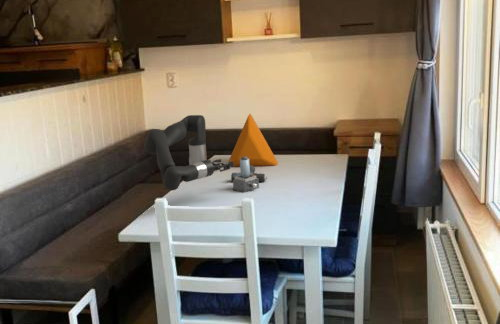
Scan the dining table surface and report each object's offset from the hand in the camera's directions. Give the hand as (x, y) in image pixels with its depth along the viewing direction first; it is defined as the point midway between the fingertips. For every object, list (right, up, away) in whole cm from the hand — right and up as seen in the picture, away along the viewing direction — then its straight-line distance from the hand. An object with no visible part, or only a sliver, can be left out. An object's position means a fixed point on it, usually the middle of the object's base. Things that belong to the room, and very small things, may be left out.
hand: (226, 162), depth 264 cm
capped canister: (+9, -8, +10) cm, 16 cm away
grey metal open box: (+10, -13, +10) cm, 20 cm away
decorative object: (+12, -2, +62) cm, 63 cm away
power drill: (+13, -9, +31) cm, 35 cm away
